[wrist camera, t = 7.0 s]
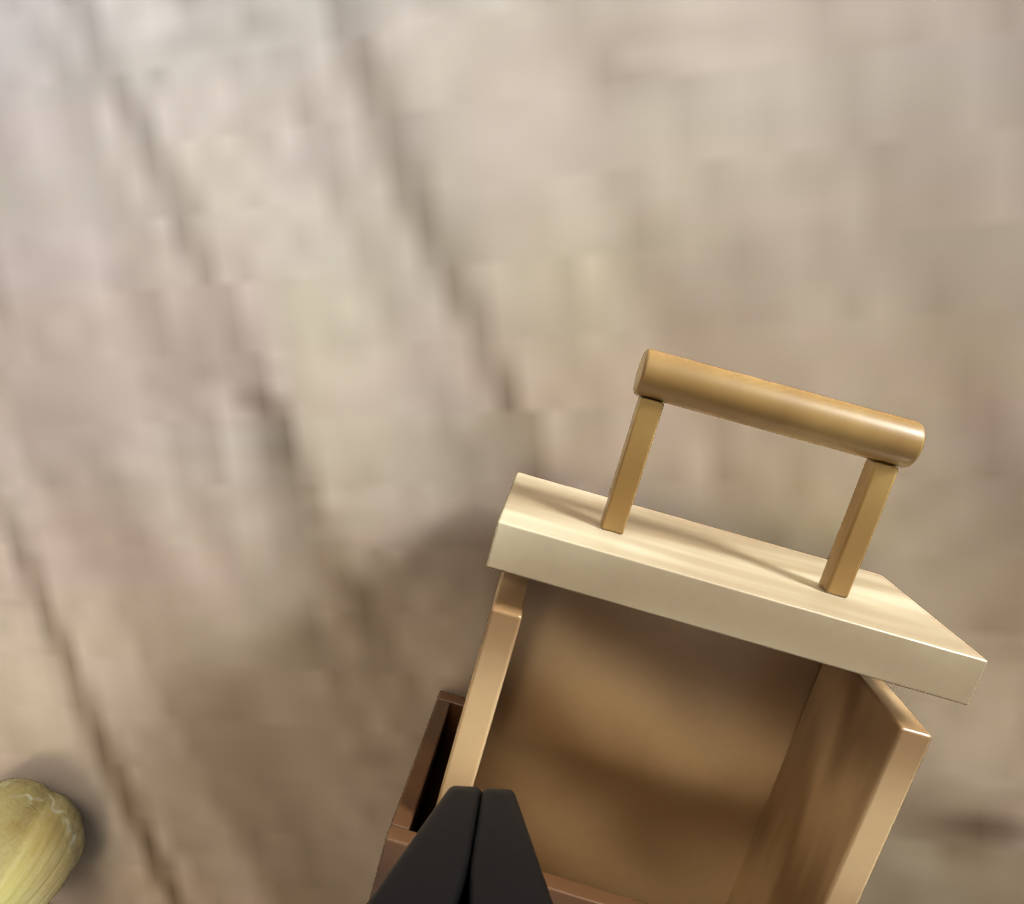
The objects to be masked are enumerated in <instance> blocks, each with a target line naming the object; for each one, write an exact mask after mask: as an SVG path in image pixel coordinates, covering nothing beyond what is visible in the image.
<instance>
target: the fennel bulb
mask: <svg viewBox="0 0 1024 904" xmlns="http://www.w3.org/2000/svg"><path fill="white" fill-rule="evenodd" d="M84 847H85V832H84V825H83V821H82V819H81V815H80V812H79V811H78V809H77V808H76V807H75V806H74V805H73V803H72V802H71V801H70V800H69V799H68V798H67V797H66V796H65V795H64V794H60V793H56V792H53V791H51V790H50V789H49V788H48V787H47V786H45V785H44V784H42V783H39V782H36V781H33V780H26V779H21V778H13V779H9V780H4V781H1V782H0V904H49V902H50V901H51V900H52V898H53V897H54V896H55V895H56V893H57V892H58V891H59V890H60V888H61V887H62V885H63V884H64V882H65V880H66V879H67V877H68V875H69V873H70V872H71V870H72V869H73V868H74V867H75V866H76V865H77V863H78V862H79V860H80V858H81V856H82V853H83V850H84Z"/></svg>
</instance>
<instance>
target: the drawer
mask: <svg viewBox="0 0 1024 904" xmlns="http://www.w3.org/2000/svg"><path fill="white" fill-rule="evenodd" d="M634 393H635V394H636V395H639V398H638V401H637V404H636V408H635V411H634V414H633V417H632V421H631V424H630V427H629V430H628V434H627V437H626V440H625V443H624V447H623V450H622V453H621V457H620V460H619V463H618V466H617V470H616V473H615V476H614V479H613V483H612V486H611V489H610V492H609V496H608V498H607V497H604V496H600V495H597V494H593V493H589V492H586V491H582V490H579V489H575V488H572V487H568V486H565V485H561V484H558V483H554V482H551V481H547V480H543V479H540V478H536V477H533V476H529V475H526V474H522V473H517V475H516V477H515V480H514V482H513V485H512V487H511V490H510V492H509V495H508V497H507V500H506V502H505V505H504V507H503V510H502V513H501V515H500V518H499V520H498V523H497V526H496V530H495V534H494V537H493V541H492V545H491V548H490V552H489V556H488V559H487V563H486V566H487V567H490V568H494V569H497V570H501V571H502V573H501V577H500V580H499V583H498V587H497V590H496V593H495V597H494V600H493V603H492V607H491V610H490V614H489V617H488V621H487V624H486V628H485V632H484V635H483V639H482V642H481V646H480V649H479V653H478V657H477V660H476V664H475V667H474V671H473V674H472V678H471V682H470V685H469V689H468V692H467V696H466V700H465V703H464V707H463V710H462V714H461V717H460V721H459V725H458V728H457V732H456V735H455V739H454V743H453V746H452V750H451V753H450V757H449V760H448V764H447V768H446V771H445V775H444V778H443V782H442V785H441V789H440V793H439V796H438V800H437V803H436V806H437V804H438V803H439V801H440V800H441V799H442V797H443V796H444V794H445V793H446V792H447V790H448V789H449V788H450V787H452V786H455V785H456V786H471V787H478V788H479V789H480V790H481V792H483V790H484V789H485V788H500V789H510V790H512V791H513V792H514V793H515V795H516V798H517V801H518V804H519V807H520V809H521V812H522V815H523V818H524V821H525V824H526V827H527V830H528V832H529V835H530V838H531V841H532V844H533V847H534V850H535V853H536V855H537V858H538V861H539V864H540V867H541V870H542V871H543V872H547V873H550V874H553V875H556V876H560V877H563V878H566V879H569V880H573V881H576V882H579V883H582V884H586V885H589V886H592V887H595V888H599V889H602V890H605V891H609V892H612V893H615V894H618V895H622V896H625V897H628V898H631V899H635V900H638V901H641V902H644V903H648V904H857V903H858V901H859V899H860V897H861V894H862V892H863V890H864V888H865V886H866V883H867V881H868V879H869V877H870V874H871V872H872V870H873V868H874V866H875V863H876V861H877V859H878V857H879V854H880V852H881V850H882V848H883V845H884V843H885V841H886V839H887V837H888V834H889V832H890V830H891V828H892V825H893V823H894V821H895V819H896V816H897V814H898V812H899V810H900V808H901V805H902V803H903V801H904V799H905V796H906V794H907V792H908V790H909V788H910V785H911V783H912V781H913V779H914V776H915V774H916V772H917V770H918V767H919V765H920V763H921V761H922V759H923V756H924V754H925V752H926V750H927V747H928V745H929V743H930V741H931V735H930V734H929V733H928V732H927V730H926V729H925V728H924V727H923V726H922V725H921V724H920V722H919V721H918V720H917V719H916V718H915V717H914V716H913V714H912V713H911V712H910V711H909V710H908V709H907V708H906V706H905V705H904V704H903V703H902V702H901V701H900V700H899V698H898V697H897V696H896V695H895V694H894V693H893V691H892V690H891V689H890V688H889V687H888V686H887V685H886V683H885V682H889V683H892V684H895V685H899V686H902V687H906V688H909V689H913V690H916V691H920V692H923V693H927V694H930V695H934V696H937V697H940V698H944V699H947V700H951V701H954V702H958V703H961V704H965V705H968V704H969V702H970V700H971V698H972V696H973V693H974V691H975V689H976V687H977V685H978V682H979V680H980V678H981V676H982V674H983V671H984V669H985V667H986V665H987V660H986V659H984V658H983V657H982V656H981V655H979V654H978V653H977V652H976V651H974V650H973V649H972V648H971V647H969V646H968V645H967V644H966V643H964V642H963V641H962V640H961V639H960V638H958V637H957V636H956V635H955V634H953V633H952V632H951V631H950V630H948V629H947V628H946V627H945V626H943V625H942V624H941V623H940V622H939V621H937V620H936V619H935V618H934V617H932V616H931V615H930V614H929V613H927V612H926V611H925V610H924V609H922V608H921V607H920V606H919V605H917V604H916V603H915V602H914V601H913V600H911V599H910V598H909V597H908V596H906V595H905V594H904V593H903V592H901V591H900V590H899V589H898V588H896V587H895V586H894V585H893V584H892V583H890V582H889V581H888V580H887V579H885V578H884V577H883V576H882V575H880V574H876V573H873V572H869V571H866V570H862V569H859V567H860V565H861V562H862V560H863V557H864V555H865V552H866V550H867V547H868V545H869V542H870V540H871V537H872V535H873V532H874V530H875V527H876V525H877V522H878V520H879V517H880V515H881V512H882V510H883V507H884V505H885V502H886V500H887V497H888V495H889V492H890V490H891V487H892V485H893V482H894V480H895V477H896V475H897V472H898V468H897V467H900V468H903V467H908V466H910V465H911V464H913V463H914V462H915V461H916V460H917V458H918V457H919V455H920V453H921V451H922V449H923V446H924V442H925V429H924V427H923V425H922V424H920V423H919V422H917V421H913V420H910V419H906V418H902V417H899V416H895V415H891V414H887V413H884V412H880V411H876V410H873V409H869V408H865V407H862V406H858V405H854V404H851V403H847V402H843V401H840V400H836V399H832V398H829V397H825V396H821V395H818V394H814V393H810V392H807V391H803V390H799V389H796V388H792V387H788V386H785V385H781V384H777V383H774V382H770V381H766V380H763V379H759V378H755V377H752V376H748V375H744V374H741V373H737V372H733V371H729V370H726V369H722V368H718V367H715V366H711V365H707V364H704V363H700V362H696V361H693V360H689V359H685V358H682V357H678V356H674V355H671V354H667V353H663V352H660V351H656V350H652V349H647V350H646V351H645V353H644V354H643V357H642V359H641V362H640V365H639V368H638V371H637V374H636V378H635V383H634ZM662 402H664V403H668V404H672V405H675V406H679V407H682V408H686V409H690V410H693V411H697V412H701V413H704V414H708V415H711V416H715V417H719V418H722V419H726V420H730V421H733V422H737V423H741V424H744V425H748V426H751V427H755V428H759V429H762V430H766V431H770V432H773V433H777V434H780V435H784V436H788V437H791V438H795V439H799V440H802V441H806V442H810V443H813V444H817V445H820V446H824V447H828V448H831V449H835V450H839V451H842V452H846V453H850V454H853V455H857V456H860V457H864V458H868V459H867V460H866V462H865V465H864V468H863V470H862V473H861V475H860V478H859V480H858V483H857V486H856V488H855V491H854V493H853V496H852V499H851V501H850V504H849V506H848V509H847V511H846V514H845V517H844V519H843V522H842V524H841V527H840V530H839V532H838V535H837V537H836V540H835V542H834V545H833V548H832V550H831V553H830V555H829V558H828V560H827V559H823V558H820V557H816V556H813V555H809V554H806V553H802V552H799V551H795V550H791V549H788V548H784V547H781V546H777V545H774V544H770V543H767V542H763V541H760V540H756V539H752V538H749V537H745V536H742V535H738V534H735V533H731V532H728V531H724V530H721V529H717V528H713V527H710V526H706V525H703V524H699V523H696V522H692V521H689V520H685V519H682V518H678V517H675V516H671V515H667V514H664V513H660V512H657V511H653V510H650V509H646V508H643V507H639V506H636V505H632V504H633V501H634V498H635V495H636V491H637V488H638V485H639V482H640V479H641V476H642V473H643V469H644V466H645V463H646V460H647V457H648V454H649V450H650V447H651V444H652V441H653V438H654V435H655V431H656V428H657V425H658V422H659V419H660V416H661V412H662V409H663V406H664V404H663V403H662ZM895 466H897V467H895ZM884 681H885V682H884Z"/></svg>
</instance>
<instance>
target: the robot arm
mask: <svg viewBox="0 0 1024 904" xmlns="http://www.w3.org/2000/svg"><path fill="white" fill-rule="evenodd" d="M367 904H553V901H552V899H551V896H550V893H549V890H548V887H547V884H546V881H545V878H544V876H543V873H542V870H541V867H540V864H539V861H538V858H537V855H536V853H535V850H534V847H533V844H532V841H531V838H530V835H529V832H528V830H527V827H526V824H525V821H524V818H523V815H522V812H521V809H520V807H519V804H518V801H517V798H516V795H515V793H514V792H513V791H512V790H510V789H500V788H485V789H484V790H483V792H481V790H480V789H479V788H478V787H471V786H456V785H455V786H452V787H450V788H449V789H448V790H447V792H446V793H445V794H444V796H443V797H442V799H441V800H440V801H439V803H438V804H437V806H436V807H435V808H434V810H433V811H432V813H431V814H430V815H429V817H428V818H427V820H426V821H425V822H424V824H423V825H422V827H421V828H420V830H419V831H418V832H417V834H416V835H415V837H414V838H413V839H412V841H411V842H410V844H409V845H408V846H407V848H406V849H405V851H404V852H403V853H402V855H401V856H400V858H399V859H398V860H397V862H396V863H395V865H394V866H393V867H392V869H391V870H390V872H389V873H388V875H387V876H386V877H385V879H384V880H383V882H382V883H381V884H380V886H379V887H378V889H377V890H376V891H375V893H374V894H373V896H372V897H371V898H370V900H369V901H368V903H367Z"/></svg>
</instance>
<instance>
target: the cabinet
mask: <svg viewBox="0 0 1024 904" xmlns="http://www.w3.org/2000/svg"><path fill="white" fill-rule="evenodd" d="M465 700H466V698H463V697H459V696H456V695H453V694H449V693H446V692H443V691H441V692H440V693H439V696H438V698H437V701H436V704H435V706H434V709H433V712H432V715H431V717H430V720H429V723H428V725H427V728H426V731H425V733H424V736H423V739H422V742H421V744H420V747H419V750H418V752H417V755H416V758H415V760H414V763H413V766H412V769H411V771H410V774H409V777H408V779H407V782H406V785H405V787H404V790H403V793H402V796H401V798H400V801H399V804H398V806H397V809H396V812H395V814H394V817H393V820H392V823H391V826H390V828H389V831H388V833H387V836H386V839H385V843H384V847H383V850H382V854H381V858H380V862H379V865H378V869H377V873H376V877H375V881H374V884H373V888H372V892H371V896H370V898H371V897H372V896H373V894H374V893H375V891H376V890H377V889H378V887H379V886H380V884H381V883H382V882H383V880H384V879H385V877H386V876H387V875H388V873H389V872H390V870H391V869H392V867H393V866H394V865H395V863H396V862H397V860H398V859H399V858H400V856H401V855H402V853H403V852H404V851H405V849H406V848H407V846H408V845H409V844H410V842H411V841H412V839H413V838H414V837H415V835H416V834H417V832H418V831H419V830H420V828H421V827H422V825H423V824H424V822H425V821H426V820H427V818H428V817H429V815H430V814H431V813H432V811H433V810H434V808H435V807H436V803H437V800H438V796H439V793H440V789H441V785H442V782H443V778H444V775H445V771H446V768H447V764H448V760H449V757H450V753H451V750H452V746H453V743H454V739H455V735H456V732H457V728H458V725H459V721H460V717H461V714H462V710H463V707H464V703H465ZM542 873H543V876H544V878H545V881H546V884H547V887H548V890H549V893H550V896H551V899H552V901H553V904H648V903H644V902H641V901H638V900H635V899H631V898H628V897H625V896H622V895H618V894H615V893H612V892H609V891H605V890H602V889H599V888H595V887H592V886H589V885H586V884H582V883H579V882H576V881H573V880H569V879H566V878H563V877H560V876H556V875H553V874H550V873H547V872H543V871H542Z"/></svg>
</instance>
